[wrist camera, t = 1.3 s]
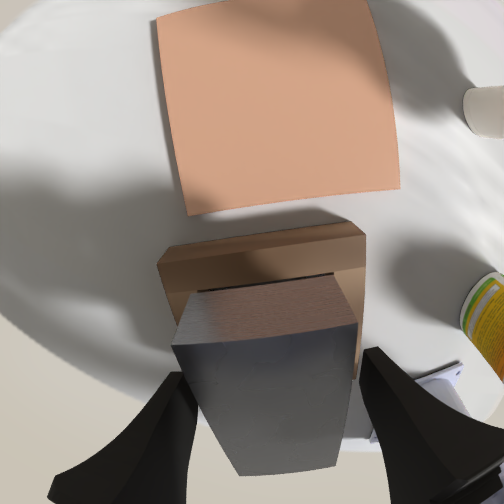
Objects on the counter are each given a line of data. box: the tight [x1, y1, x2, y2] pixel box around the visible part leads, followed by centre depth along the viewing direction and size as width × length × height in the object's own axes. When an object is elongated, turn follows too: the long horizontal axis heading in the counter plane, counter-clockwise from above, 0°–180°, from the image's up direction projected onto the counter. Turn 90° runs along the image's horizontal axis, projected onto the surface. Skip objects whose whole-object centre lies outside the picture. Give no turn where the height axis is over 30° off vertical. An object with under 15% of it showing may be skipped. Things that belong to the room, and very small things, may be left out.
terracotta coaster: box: [156, 0, 400, 216], centre depth 10 cm, size 10×10×1 cm
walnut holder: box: [157, 221, 366, 380], centre depth 14 cm, size 9×9×2 cm
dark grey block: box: [171, 275, 358, 476], centre depth 11 cm, size 9×4×8 cm, turn 9°
